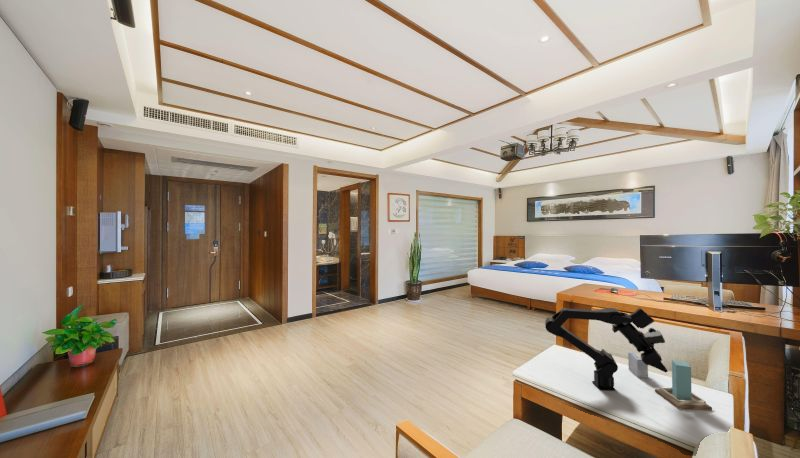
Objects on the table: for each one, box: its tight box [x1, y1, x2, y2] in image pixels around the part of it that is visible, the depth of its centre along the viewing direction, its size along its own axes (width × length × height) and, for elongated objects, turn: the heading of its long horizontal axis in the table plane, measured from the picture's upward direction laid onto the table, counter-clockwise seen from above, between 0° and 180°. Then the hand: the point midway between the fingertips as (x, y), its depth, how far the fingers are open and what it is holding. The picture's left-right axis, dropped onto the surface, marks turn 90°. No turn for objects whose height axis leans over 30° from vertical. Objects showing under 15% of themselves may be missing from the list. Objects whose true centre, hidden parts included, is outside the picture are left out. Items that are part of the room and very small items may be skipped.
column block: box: [671, 360, 692, 400], centre depth 120 cm, size 4×4×14 cm
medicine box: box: [627, 352, 649, 379], centre depth 142 cm, size 8×4×9 cm, turn 168°
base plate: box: [654, 386, 713, 411], centre depth 120 cm, size 12×12×2 cm
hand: (663, 365), depth 123 cm, fingers open, 9 cm apart
